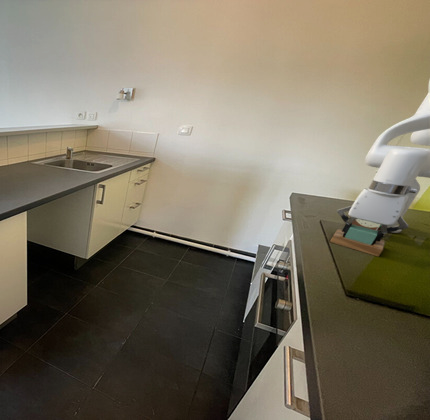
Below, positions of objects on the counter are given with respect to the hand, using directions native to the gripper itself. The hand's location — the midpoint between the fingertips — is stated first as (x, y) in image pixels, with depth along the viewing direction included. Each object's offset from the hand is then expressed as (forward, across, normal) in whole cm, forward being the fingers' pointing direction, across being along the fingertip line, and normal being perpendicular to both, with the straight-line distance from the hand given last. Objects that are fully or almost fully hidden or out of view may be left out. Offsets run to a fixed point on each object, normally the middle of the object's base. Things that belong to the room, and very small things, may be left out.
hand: (358, 237), depth 84 cm
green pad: (+1, 0, 0) cm, 1 cm away
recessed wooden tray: (+3, 0, 0) cm, 3 cm away
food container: (+3, -2, -22) cm, 22 cm away
